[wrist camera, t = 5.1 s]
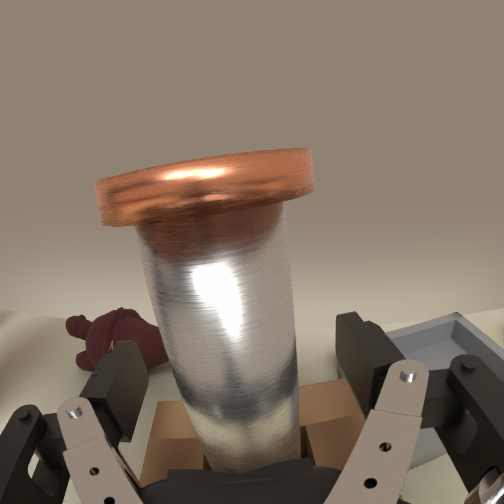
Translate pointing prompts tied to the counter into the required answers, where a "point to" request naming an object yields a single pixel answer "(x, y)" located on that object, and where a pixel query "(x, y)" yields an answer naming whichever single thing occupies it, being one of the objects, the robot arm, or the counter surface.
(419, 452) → the tray
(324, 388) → the hitch block
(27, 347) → the counter surface
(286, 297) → the pin
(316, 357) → the counter surface
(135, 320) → the icecream
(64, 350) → the counter surface
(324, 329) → the counter surface
